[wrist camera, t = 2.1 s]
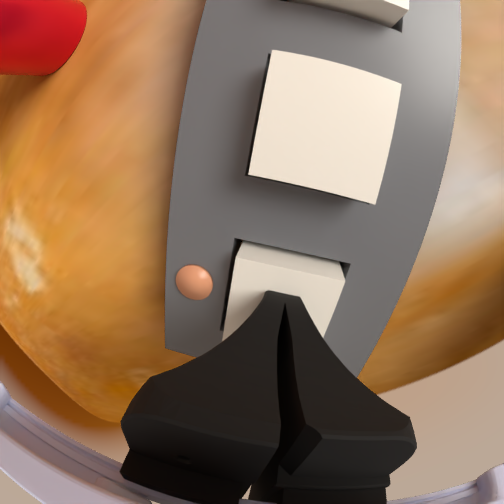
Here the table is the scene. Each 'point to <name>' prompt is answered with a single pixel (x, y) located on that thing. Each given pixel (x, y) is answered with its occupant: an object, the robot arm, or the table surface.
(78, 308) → the table surface
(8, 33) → the bottle
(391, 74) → the key panel
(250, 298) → the key
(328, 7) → the key
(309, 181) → the key middle
